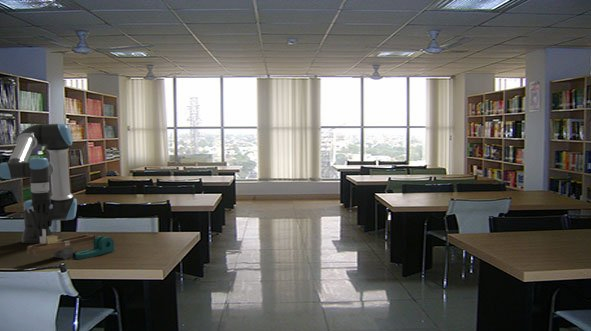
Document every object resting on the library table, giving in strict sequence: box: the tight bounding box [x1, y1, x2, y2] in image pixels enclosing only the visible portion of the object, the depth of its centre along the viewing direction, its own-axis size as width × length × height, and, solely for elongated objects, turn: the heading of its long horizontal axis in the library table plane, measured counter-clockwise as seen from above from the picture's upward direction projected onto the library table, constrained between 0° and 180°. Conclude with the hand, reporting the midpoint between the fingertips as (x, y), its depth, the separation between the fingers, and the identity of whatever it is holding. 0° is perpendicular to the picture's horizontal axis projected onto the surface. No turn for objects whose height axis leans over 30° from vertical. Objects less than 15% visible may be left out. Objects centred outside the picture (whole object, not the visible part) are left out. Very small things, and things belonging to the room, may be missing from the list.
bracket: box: [74, 235, 115, 260], centre depth 237 cm, size 18×7×8 cm, turn 146°
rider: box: [42, 234, 59, 246], centre depth 227 cm, size 4×5×5 cm
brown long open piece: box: [26, 233, 96, 260], centre depth 233 cm, size 9×30×8 cm, turn 149°
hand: (43, 243), depth 224 cm, fingers closed
